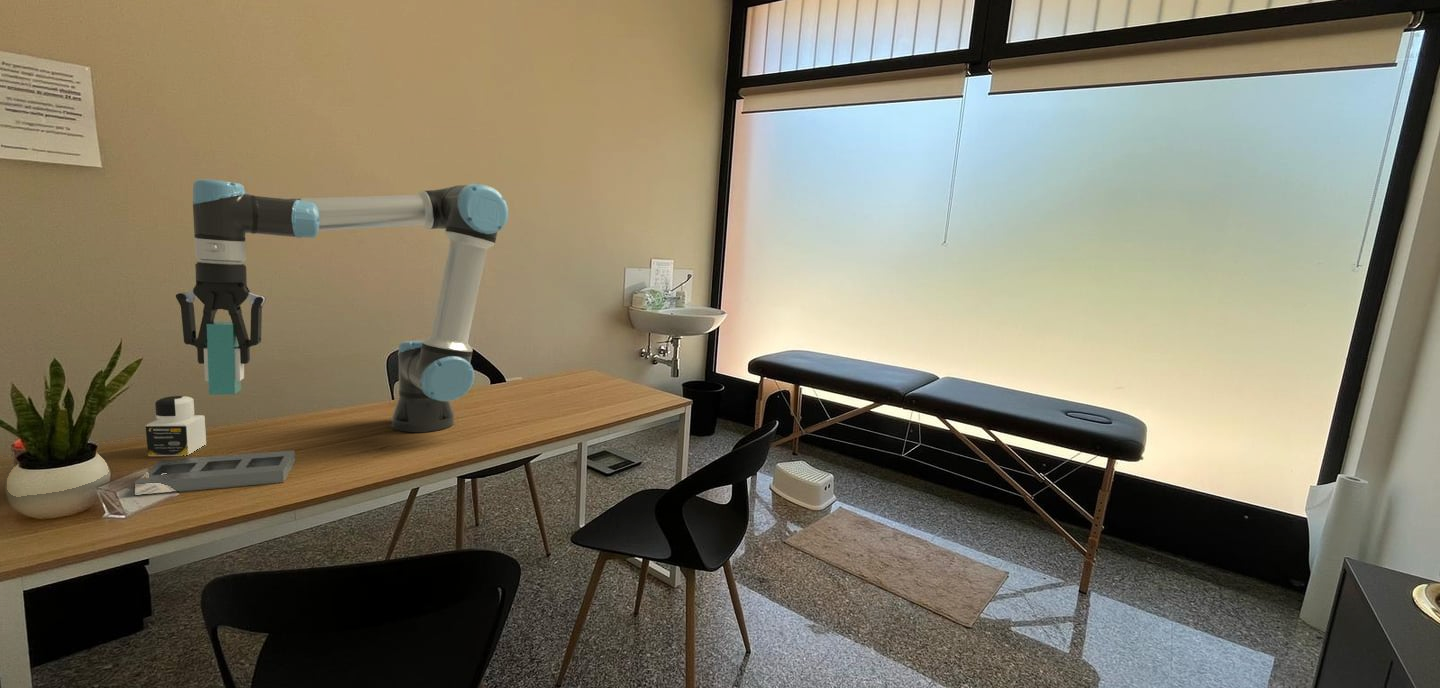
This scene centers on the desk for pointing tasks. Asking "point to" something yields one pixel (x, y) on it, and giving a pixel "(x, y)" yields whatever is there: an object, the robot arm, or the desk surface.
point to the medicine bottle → (175, 428)
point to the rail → (221, 471)
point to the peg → (222, 358)
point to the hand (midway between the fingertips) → (224, 379)
